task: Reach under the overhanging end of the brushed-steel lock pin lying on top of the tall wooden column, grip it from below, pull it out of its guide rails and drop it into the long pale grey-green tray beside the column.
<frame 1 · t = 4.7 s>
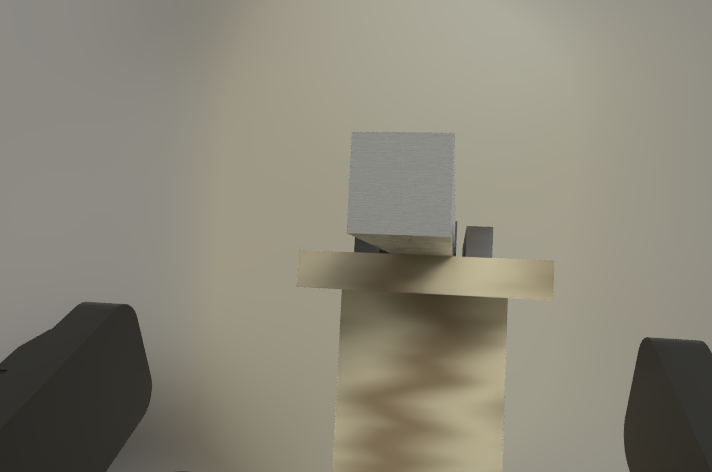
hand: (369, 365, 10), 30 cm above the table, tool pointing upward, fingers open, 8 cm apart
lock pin: (424, 257, 26), point 32 cm above the table, touching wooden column
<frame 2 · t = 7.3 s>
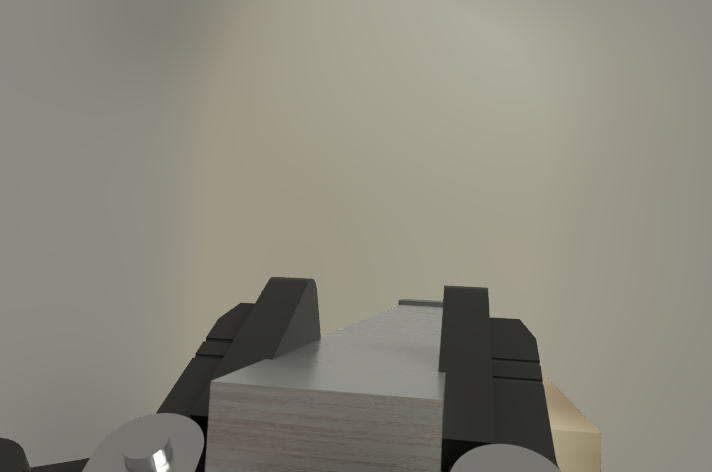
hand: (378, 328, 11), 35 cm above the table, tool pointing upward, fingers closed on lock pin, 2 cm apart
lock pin: (407, 401, 18), point 32 cm above the table, touching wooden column, gripper
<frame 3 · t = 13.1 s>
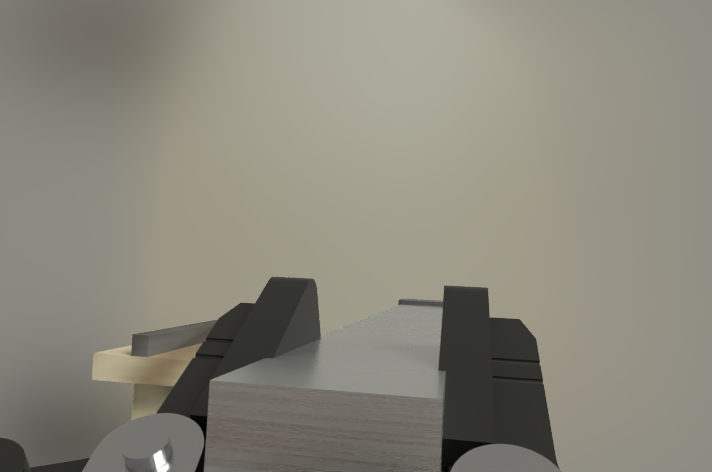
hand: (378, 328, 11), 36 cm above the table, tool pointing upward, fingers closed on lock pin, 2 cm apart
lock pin: (407, 401, 18), point 34 cm above the table, touching gripper
when the fingers open (26 cm above the table, at t = 14.7 s): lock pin drops 21 cm, resting on tray.
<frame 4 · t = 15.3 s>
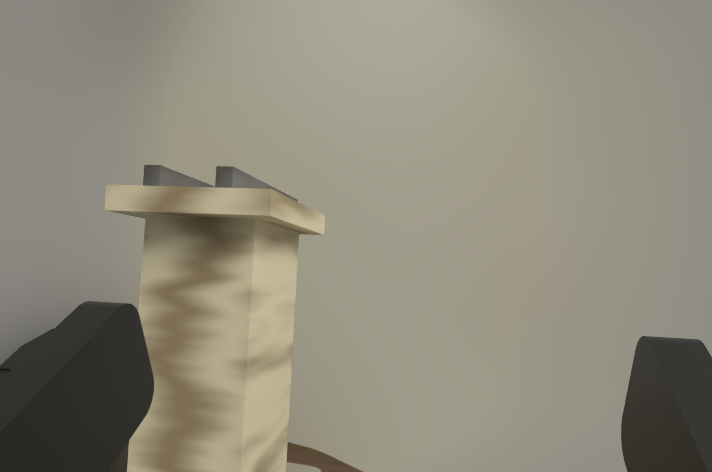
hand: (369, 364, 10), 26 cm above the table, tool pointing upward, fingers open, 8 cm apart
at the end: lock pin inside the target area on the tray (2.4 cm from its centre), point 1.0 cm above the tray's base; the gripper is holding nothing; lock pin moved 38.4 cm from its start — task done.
